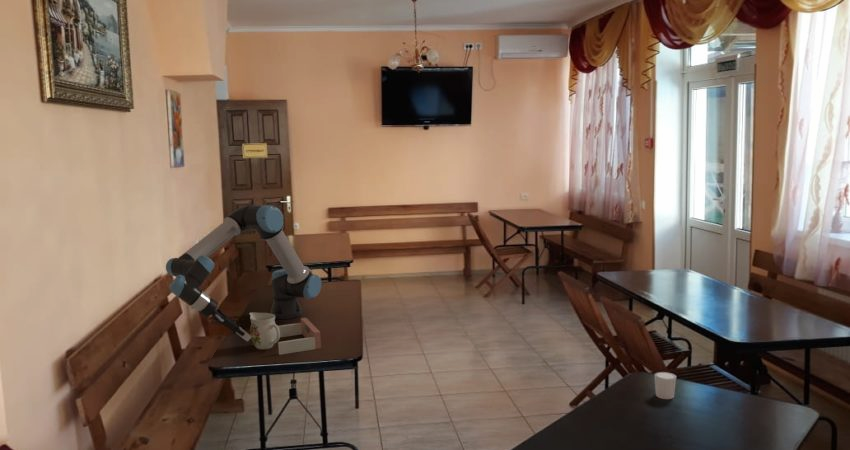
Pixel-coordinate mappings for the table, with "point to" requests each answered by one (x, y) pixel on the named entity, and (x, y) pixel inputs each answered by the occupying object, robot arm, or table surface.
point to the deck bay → (307, 343)
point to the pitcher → (264, 330)
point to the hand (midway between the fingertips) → (249, 338)
